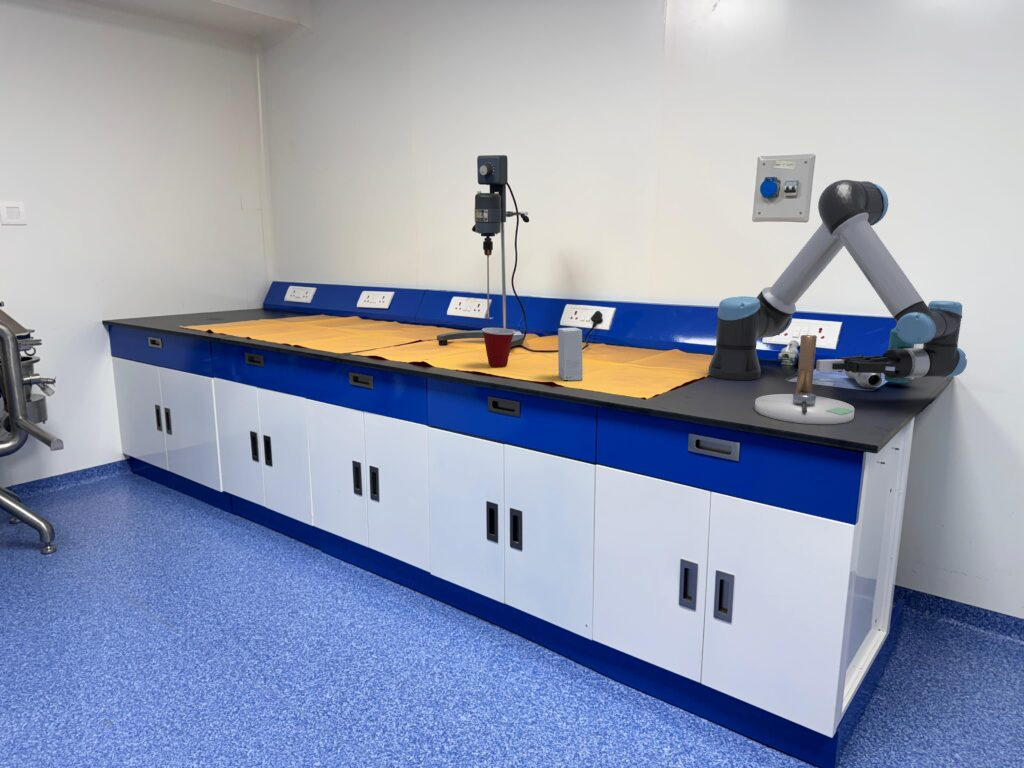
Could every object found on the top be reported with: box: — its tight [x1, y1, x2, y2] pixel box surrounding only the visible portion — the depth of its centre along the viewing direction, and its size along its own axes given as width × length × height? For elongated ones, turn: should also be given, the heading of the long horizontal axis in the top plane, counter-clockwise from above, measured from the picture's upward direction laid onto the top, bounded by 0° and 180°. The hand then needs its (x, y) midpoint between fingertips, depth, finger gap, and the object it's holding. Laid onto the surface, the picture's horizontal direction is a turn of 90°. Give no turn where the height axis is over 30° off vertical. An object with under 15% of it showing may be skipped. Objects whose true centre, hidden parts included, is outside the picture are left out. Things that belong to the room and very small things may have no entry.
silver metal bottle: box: [843, 369, 883, 389], centre depth 199 cm, size 6×7×20 cm
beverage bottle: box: [883, 321, 915, 384], centre depth 196 cm, size 6×7×20 cm
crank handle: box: [792, 334, 818, 412], centre depth 166 cm, size 21×5×15 cm, turn 158°
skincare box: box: [557, 327, 584, 381], centre depth 206 cm, size 8×6×15 cm
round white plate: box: [754, 393, 855, 425], centre depth 168 cm, size 22×22×2 cm
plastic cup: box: [481, 327, 516, 368], centre depth 225 cm, size 11×11×12 cm
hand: (818, 365), depth 174 cm, fingers closed
